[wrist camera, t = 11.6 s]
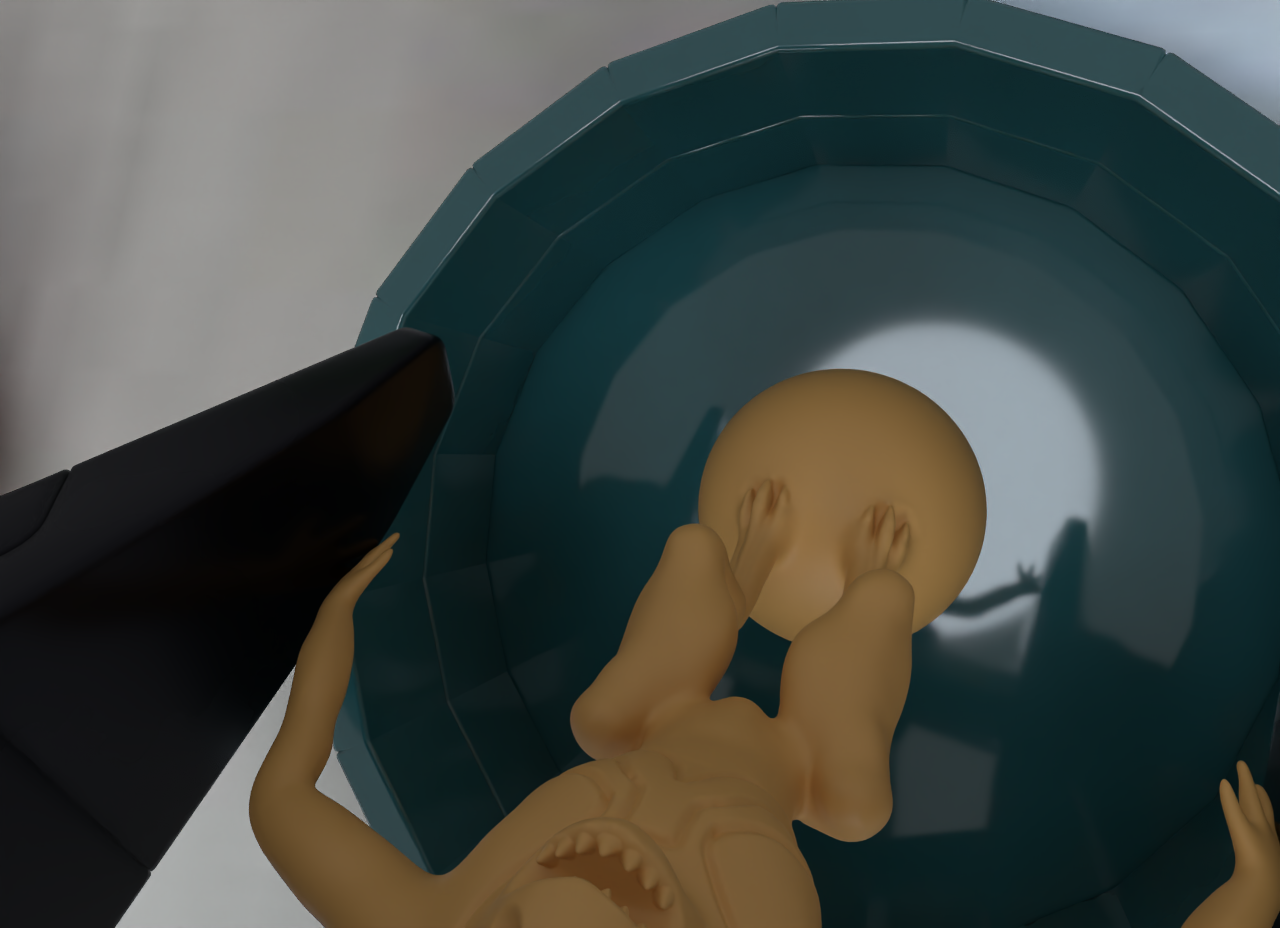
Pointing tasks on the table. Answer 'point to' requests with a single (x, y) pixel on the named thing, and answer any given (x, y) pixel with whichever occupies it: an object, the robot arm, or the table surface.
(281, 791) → the figurine
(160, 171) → the table surface
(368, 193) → the table surface
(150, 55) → the table surface
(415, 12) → the table surface
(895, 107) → the pot
